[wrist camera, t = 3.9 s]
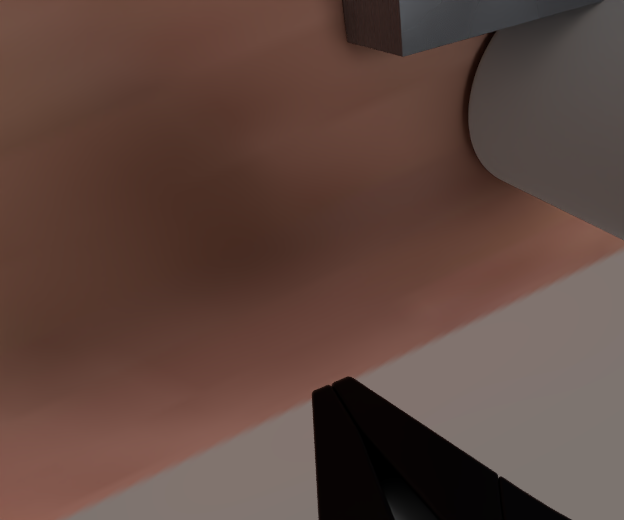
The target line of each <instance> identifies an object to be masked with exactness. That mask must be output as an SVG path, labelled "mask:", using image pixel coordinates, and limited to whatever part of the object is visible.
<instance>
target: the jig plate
mask: <svg viewBox="0 0 624 520" xmlns="http://www.w3.org/2000/svg"><path fill="white" fill-rule="evenodd" d="M342 1H343V9H344V18H345V26H346V34H347V42H349V43H353V44H356V45H360V46H364V47H368V48H372V49H376V50H379V51H383V52H387V53H391V54H395V55H398V56H402V57H403V56H407V55H411V54H414V53H418V52H421V51H425V50H429V49H432V48H436V47H439V46H443V45H447V44H450V43H454V42H457V41H461V40H464V39H468V38H472V37H475V36H479V35H482V34H486V33H490V32H493V31H497V30H500V29H504V28H508V27H511V26H515V25H518V24H522V23H525V22H529V21H533V20H536V19H540V18H543V17H547V16H551V15H554V14H558V13H561V12H565V11H568V10H572V9H576V8H579V7H583V6H586V5H590V4H594V3H597V2H601V1H604V0H342Z"/></svg>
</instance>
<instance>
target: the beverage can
mask: <svg viewBox="0 0 624 520" xmlns="http://www.w3.org/2000/svg"><path fill="white" fill-rule="evenodd" d="M468 124H469V132H470V138H471V142H472V145H473V148H474V151H475V153H476V155H477V157H478V158H479V160H480V162H481V163H482V164H483V166H484V167H485V168H486V169H487V170H488V171H489V172H490V173H491V174H493V175H494V176H495V177H497V178H498V179H500V180H502V181H504V182H506V183H508V184H510V185H512V186H514V187H516V188H518V189H520V190H522V191H524V192H527V193H529V194H531V195H533V196H535V197H537V198H539V199H541V200H543V201H545V202H547V203H549V204H551V205H553V206H555V207H557V208H559V209H561V210H563V211H565V212H567V213H569V214H571V215H573V216H575V217H578V218H580V219H582V220H584V221H586V222H588V223H590V224H592V225H594V226H596V227H598V228H600V229H602V230H604V231H606V232H608V233H610V234H612V235H614V236H616V237H618V238H620V239H622V240H624V0H604V1H601V2H597V3H594V4H590V5H586V6H583V7H579V8H576V9H572V10H568V11H565V12H561V13H558V14H554V15H551V16H547V17H543V18H540V19H536V20H533V21H529V22H525V23H522V24H518V25H515V26H511V27H508V28H504V29H500V30H497V31H496V33H495V34H494V36H493V37H492V39H491V41H490V43H489V44H488V46H487V48H486V50H485V52H484V54H483V56H482V58H481V61H480V63H479V66H478V68H477V71H476V74H475V77H474V81H473V84H472V89H471V94H470V100H469V109H468Z"/></svg>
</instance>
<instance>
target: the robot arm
mask: <svg viewBox="0 0 624 520" xmlns="http://www.w3.org/2000/svg"><path fill="white" fill-rule="evenodd" d="M312 408H313V424H314V425H313V426H314V444H315V463H316V481H317V498H318V516H319V517H318V518H319V520H571V519H569V518H568V517H566V516H564V515H562V514H560V513H559V512H557V511H555V510H553V509H552V508H550V507H548V506H547V505H545V504H544V503H542V502H540V501H539V500H537V499H536V498H534V497H532V496H531V495H529V494H528V493H526V492H524V491H523V490H521V489H519V488H518V487H517V486H515V485H514V484H512V483H511V482H509V481H508V480H506V479H505V478H503V477H499V478H498V475H497V473H495V472H494V471H492V470H491V469H489V468H488V467H486V466H485V465H483V464H482V463H480V462H479V461H477V460H476V459H474V458H473V457H471V456H470V455H468V454H467V453H465V452H464V451H462V450H460V449H459V448H458V447H456V446H454V445H453V444H452V443H450V442H449V441H447V440H446V439H444V438H443V437H441V436H439V435H438V434H437V433H435V432H434V431H432V430H431V429H429V428H428V427H426V426H425V425H423V424H422V423H420V422H419V421H417V420H416V419H414V418H413V417H411V416H410V415H408V414H407V413H405V412H404V411H402V410H400V409H399V408H397V407H396V406H394V405H393V404H391V403H390V402H388V401H387V400H386V399H384V398H382V397H381V396H379V395H378V394H376V393H375V392H373V391H372V390H370V389H369V388H367V387H366V386H364V385H363V384H361V383H360V382H358V381H357V380H355V379H354V378H352V377H345V378H343V379H341V380H338V381H336V382H334V383H333V384H332V386H330V385H326V386H324V387H322V388H319V389H317V390H314V391H313V392H312Z"/></svg>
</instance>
